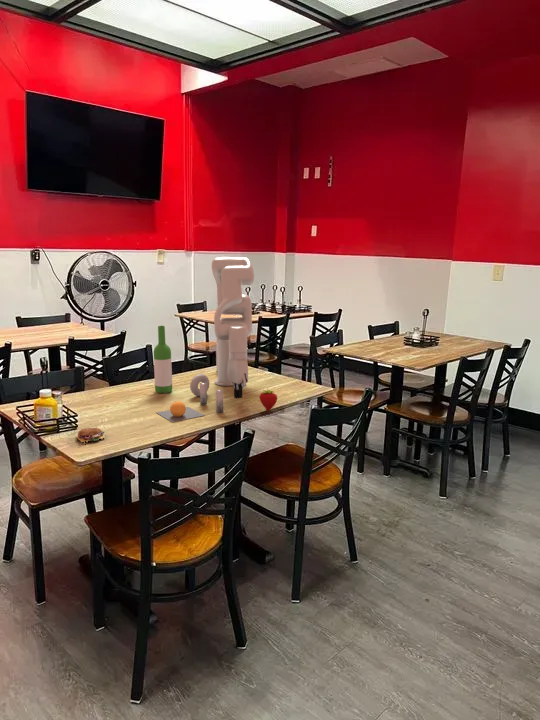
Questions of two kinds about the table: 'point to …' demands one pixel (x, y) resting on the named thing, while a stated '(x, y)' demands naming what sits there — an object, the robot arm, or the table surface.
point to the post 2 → (219, 401)
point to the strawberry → (268, 399)
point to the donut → (195, 382)
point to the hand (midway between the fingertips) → (238, 397)
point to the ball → (177, 409)
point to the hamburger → (90, 434)
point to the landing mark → (187, 415)
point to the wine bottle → (162, 364)
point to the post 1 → (203, 393)
